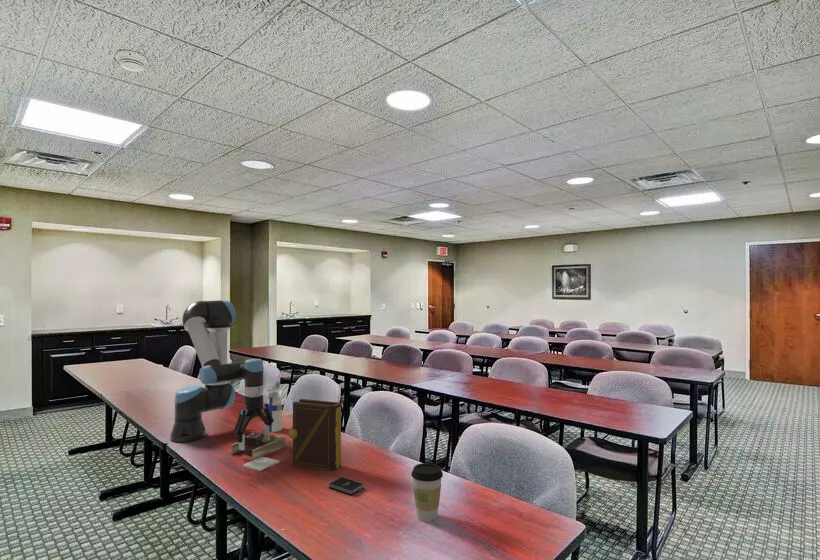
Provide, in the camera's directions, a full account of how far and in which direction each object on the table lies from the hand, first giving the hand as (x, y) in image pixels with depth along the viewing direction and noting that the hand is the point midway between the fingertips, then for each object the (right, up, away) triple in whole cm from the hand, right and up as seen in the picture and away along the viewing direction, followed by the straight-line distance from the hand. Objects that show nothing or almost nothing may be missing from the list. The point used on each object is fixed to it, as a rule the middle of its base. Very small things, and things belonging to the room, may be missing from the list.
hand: (254, 444), depth 193 cm
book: (+29, -3, -13) cm, 32 cm away
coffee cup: (+73, -3, -54) cm, 91 cm away
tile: (+7, -3, -13) cm, 15 cm away
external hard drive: (+45, -3, -35) cm, 57 cm away
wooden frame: (+1, -3, +2) cm, 4 cm away
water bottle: (-1, -4, +31) cm, 31 cm away
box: (0, -4, 0) cm, 4 cm away
